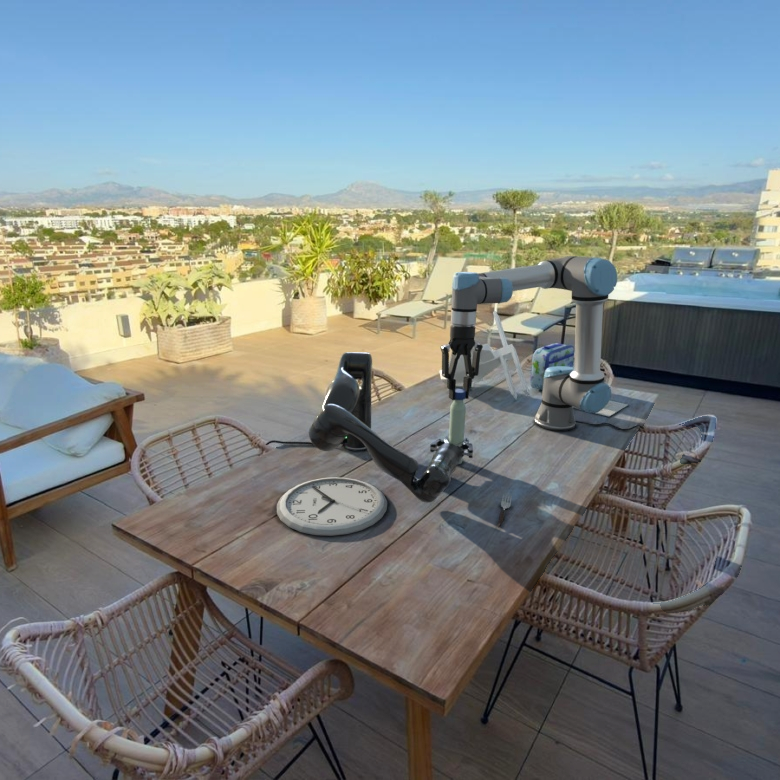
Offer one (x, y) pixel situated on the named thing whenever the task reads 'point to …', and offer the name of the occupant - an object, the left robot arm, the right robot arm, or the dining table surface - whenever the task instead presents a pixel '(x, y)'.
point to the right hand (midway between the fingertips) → (458, 397)
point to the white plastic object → (492, 362)
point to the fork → (504, 505)
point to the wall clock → (331, 506)
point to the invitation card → (611, 408)
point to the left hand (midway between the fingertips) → (457, 439)
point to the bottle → (457, 423)
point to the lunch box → (549, 361)
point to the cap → (460, 394)
